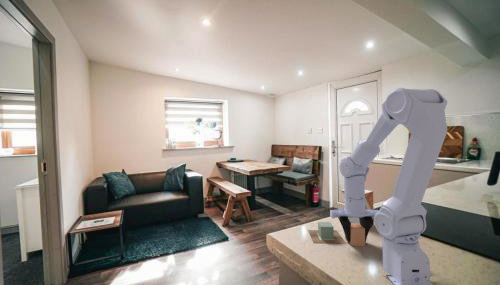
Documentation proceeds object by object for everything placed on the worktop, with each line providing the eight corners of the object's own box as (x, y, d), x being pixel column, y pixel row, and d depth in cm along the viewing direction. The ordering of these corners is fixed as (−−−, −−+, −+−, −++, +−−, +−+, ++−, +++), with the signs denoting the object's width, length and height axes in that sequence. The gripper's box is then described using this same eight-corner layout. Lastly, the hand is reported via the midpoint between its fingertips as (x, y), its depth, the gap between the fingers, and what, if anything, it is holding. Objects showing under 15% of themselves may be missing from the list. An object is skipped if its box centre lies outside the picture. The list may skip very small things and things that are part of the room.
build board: (346, 246, 66) (346, 243, 66) (313, 246, 66) (313, 243, 66) (336, 232, 76) (336, 230, 76) (307, 232, 76) (307, 229, 76)
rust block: (365, 248, 64) (364, 228, 64) (351, 248, 64) (351, 228, 64) (359, 242, 68) (359, 223, 68) (346, 242, 68) (346, 223, 68)
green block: (333, 239, 69) (333, 226, 69) (321, 239, 69) (320, 226, 69) (330, 233, 73) (329, 222, 73) (318, 233, 73) (317, 222, 73)
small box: (362, 230, 77) (362, 194, 77) (346, 224, 82) (345, 191, 82) (374, 225, 81) (373, 190, 81) (358, 220, 86) (357, 188, 86)
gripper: (372, 193, 70) (373, 235, 70) (326, 193, 71) (328, 234, 71) (384, 199, 63) (385, 245, 63) (333, 199, 64) (334, 245, 64)
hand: (355, 240), depth 66 cm, fingers closed on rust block, 4 cm apart
